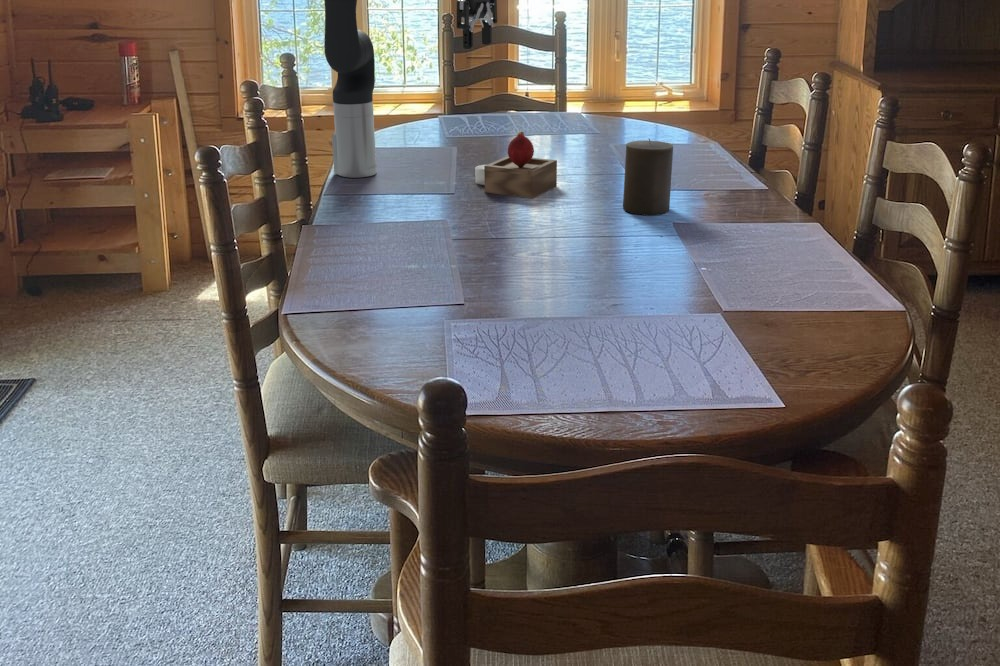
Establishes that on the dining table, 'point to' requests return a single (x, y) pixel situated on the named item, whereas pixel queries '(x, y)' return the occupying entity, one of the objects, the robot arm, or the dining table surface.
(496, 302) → the dining table surface
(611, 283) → the dining table surface
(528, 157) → the onion
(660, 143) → the pillar candle
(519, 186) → the brown open square tray
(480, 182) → the white rounded pebble
